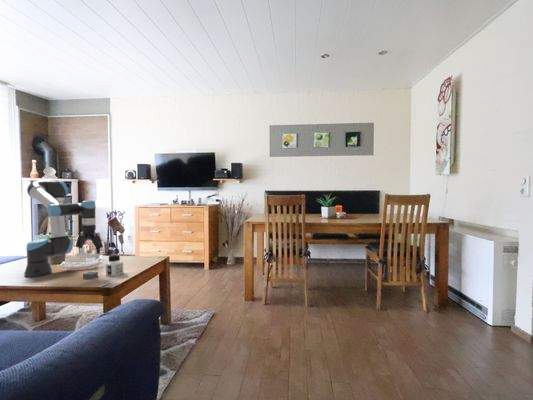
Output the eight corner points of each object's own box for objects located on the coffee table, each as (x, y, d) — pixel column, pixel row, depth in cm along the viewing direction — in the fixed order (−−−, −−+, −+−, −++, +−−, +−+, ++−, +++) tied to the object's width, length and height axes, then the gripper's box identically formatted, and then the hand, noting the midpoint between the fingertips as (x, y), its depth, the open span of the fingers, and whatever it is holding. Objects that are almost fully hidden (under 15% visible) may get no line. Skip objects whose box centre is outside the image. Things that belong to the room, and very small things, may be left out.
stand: (82, 278, 195) (82, 274, 195) (90, 276, 201) (90, 271, 201) (90, 279, 194) (90, 274, 193) (98, 276, 199) (97, 272, 199)
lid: (75, 257, 193) (75, 251, 193) (88, 253, 203) (88, 248, 203) (90, 258, 190) (90, 252, 190) (103, 254, 201) (102, 248, 201)
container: (115, 276, 200) (115, 256, 200) (105, 275, 202) (105, 256, 201) (123, 272, 208) (123, 254, 207) (113, 272, 209) (113, 253, 209)
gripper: (68, 224, 195) (69, 258, 196) (100, 225, 190) (100, 260, 191) (78, 223, 202) (78, 255, 203) (108, 224, 197) (109, 257, 198)
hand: (89, 258), depth 197 cm, fingers closed on lid, 11 cm apart
